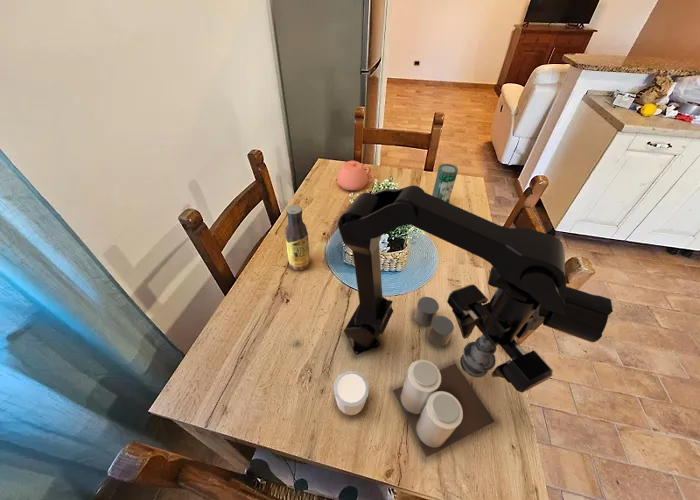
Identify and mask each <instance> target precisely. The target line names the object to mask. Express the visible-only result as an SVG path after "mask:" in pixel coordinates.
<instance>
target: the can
mask: <svg viewBox="0 0 700 500" xmlns="http://www.w3.org/2000/svg"><path fill="white" fill-rule="evenodd" d="M458 172H459V168H458V167H457V166H456V165H454V164H450V163H443V164H439V166H438V169H437V173H436V177H435V180H434V181H435V182H434V186H433V190H432V194H431V195H432V196H434V197H436V198H439V199H441V200H443V201H445V202H448V203H450V201H451V196H452V193H453V190H454V185H455V182H456V180H457V179H456V178H457V176H458Z"/></svg>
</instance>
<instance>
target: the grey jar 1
mask: <svg viewBox="0 0 700 500" xmlns="http://www.w3.org/2000/svg"><path fill="white" fill-rule="evenodd" d="M439 308H440V306H439V302H438V301H437V300H436V299H435V298H433V297H431V296H423V297H421V298H419V299H418V301H417V305H416V308H415V312H414V316H413V317H414V321H415V322H416V323H417V325H420V326H422V327H430V325H431V322H432V320H433V319H434V318H435V317H437V316H438V315H437V314H438V311H439Z"/></svg>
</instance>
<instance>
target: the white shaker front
mask: <svg viewBox="0 0 700 500" xmlns="http://www.w3.org/2000/svg"><path fill="white" fill-rule="evenodd" d="M462 418H463V411H462V407H461V405H460V403H459V401H458V400H457V399H456V398H455V397H454V396H453V395H451V394H450V393H447V392H444V391H438V392H435V393H433V394H432V395H431V396H430V397H429V398H428V400H427V402H426V404H425V406H424V409H423V411H422V413H421V415H420V417H419V419H418V421H417V424H416V430H417V434H418V436H419V438H420V439H421V441H422V442H423V443H424V444H426V445H428V446H430V447H440V446H442V445H443V444H444V443H445V442H446V440H447V439H448V438H449V437H450V435H451V434H452V433H453V432H454V430H455V429H456V428H457V427H458V425H459V424H460V423H461V421H462Z"/></svg>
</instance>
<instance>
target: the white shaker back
mask: <svg viewBox="0 0 700 500" xmlns="http://www.w3.org/2000/svg"><path fill="white" fill-rule="evenodd" d="M407 369H408V370H407V372H406V376H405V378H404V382H403V385H402V386H403V388H402V391H401V402H402V404H403V406H404V407H405V409H406V410H408V411H409V412H411V413H414V414H421V413H422V411H423V409H424V406H425V404H426V402H427V400H428V398H429V397H430V396H431V395H432V394H433V393H435V392H436V391H437V389H438V388H439V386H440V383H441V374H440V371H439V370H440V369H439V368H438V366H436V364H434V363H433V362H432V361H430V360H427V359H416V360H415V361H413V362H412V363H411V364H410V365H409V367H408V368H407Z"/></svg>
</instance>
